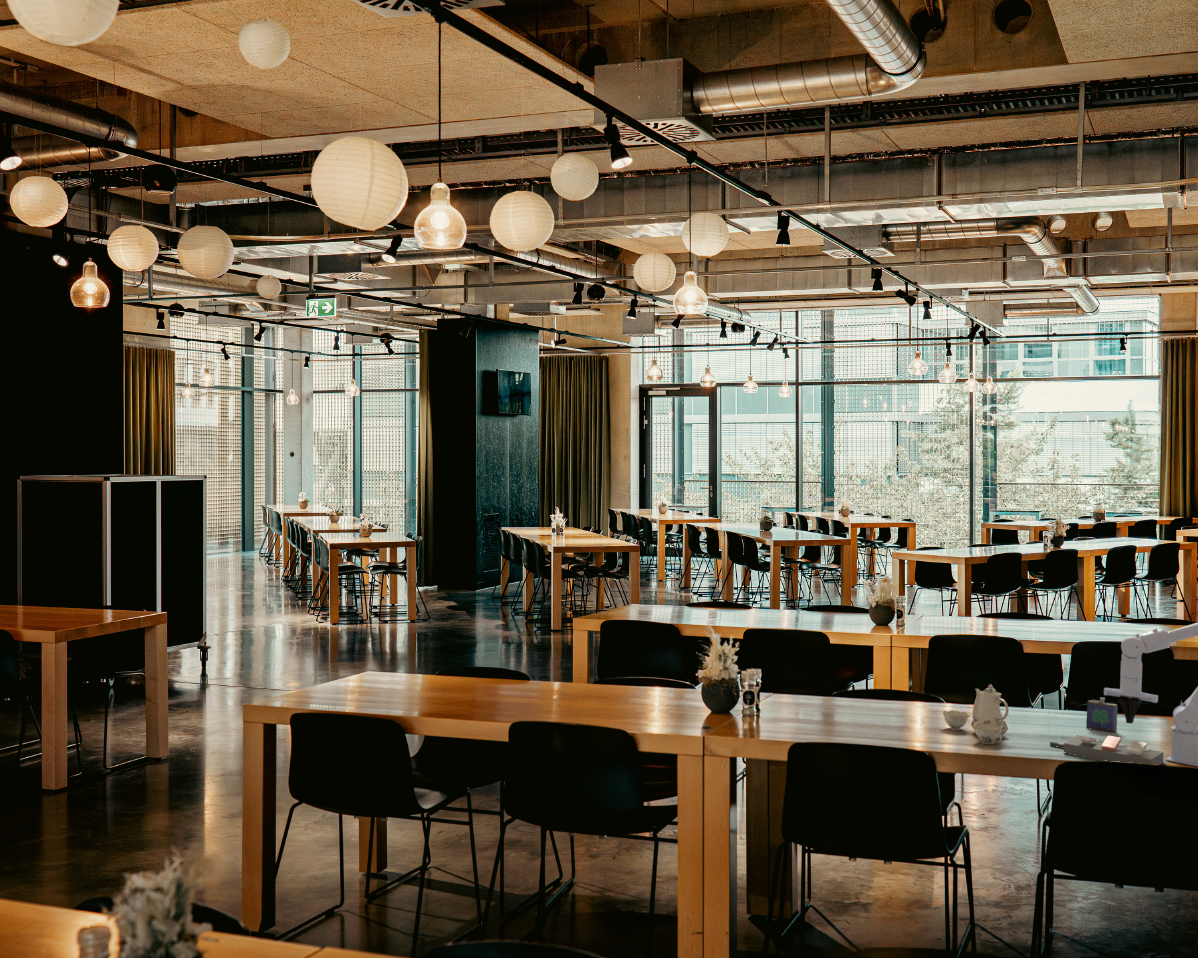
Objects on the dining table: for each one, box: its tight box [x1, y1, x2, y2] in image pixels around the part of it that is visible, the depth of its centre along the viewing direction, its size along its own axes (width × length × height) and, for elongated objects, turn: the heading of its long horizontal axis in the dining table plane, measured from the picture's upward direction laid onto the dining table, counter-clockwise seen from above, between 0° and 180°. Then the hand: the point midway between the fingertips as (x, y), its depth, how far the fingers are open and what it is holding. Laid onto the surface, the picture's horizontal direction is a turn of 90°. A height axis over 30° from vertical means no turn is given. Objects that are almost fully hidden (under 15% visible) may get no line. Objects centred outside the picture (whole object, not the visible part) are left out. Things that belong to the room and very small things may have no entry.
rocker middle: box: [1101, 735, 1122, 751], centre depth 315 cm, size 4×6×2 cm, turn 137°
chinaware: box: [941, 684, 1010, 745], centre depth 340 cm, size 28×17×17 cm, turn 19°
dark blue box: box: [1085, 697, 1118, 733], centre depth 351 cm, size 9×3×11 cm, turn 51°
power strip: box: [1049, 736, 1165, 765], centre depth 319 cm, size 30×12×3 cm, turn 47°
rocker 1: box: [1076, 734, 1097, 743], centre depth 320 cm, size 4×6×2 cm, turn 138°
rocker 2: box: [1127, 740, 1148, 755], centre depth 311 cm, size 4×6×2 cm, turn 137°
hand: (1129, 722), depth 321 cm, fingers closed
